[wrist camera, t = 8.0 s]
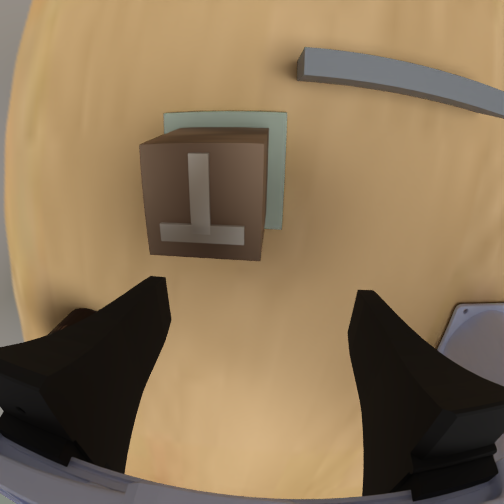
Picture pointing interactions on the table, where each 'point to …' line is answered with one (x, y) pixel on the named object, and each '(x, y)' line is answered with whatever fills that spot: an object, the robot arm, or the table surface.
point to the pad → (255, 120)
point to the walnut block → (206, 192)
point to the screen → (398, 79)
